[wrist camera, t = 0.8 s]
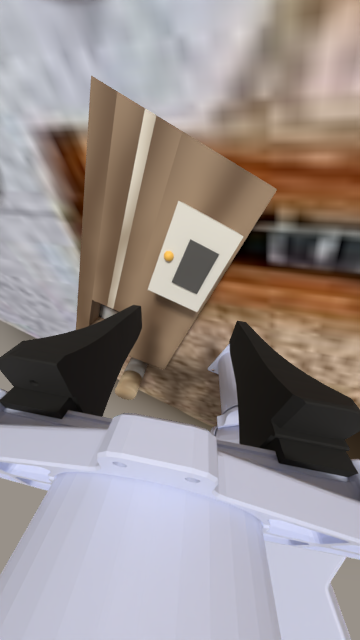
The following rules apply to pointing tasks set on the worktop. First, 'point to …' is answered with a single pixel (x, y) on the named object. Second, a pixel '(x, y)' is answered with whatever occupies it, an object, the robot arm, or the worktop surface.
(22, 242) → the worktop surface
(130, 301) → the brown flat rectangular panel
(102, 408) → the robot arm
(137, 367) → the peg
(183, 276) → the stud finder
